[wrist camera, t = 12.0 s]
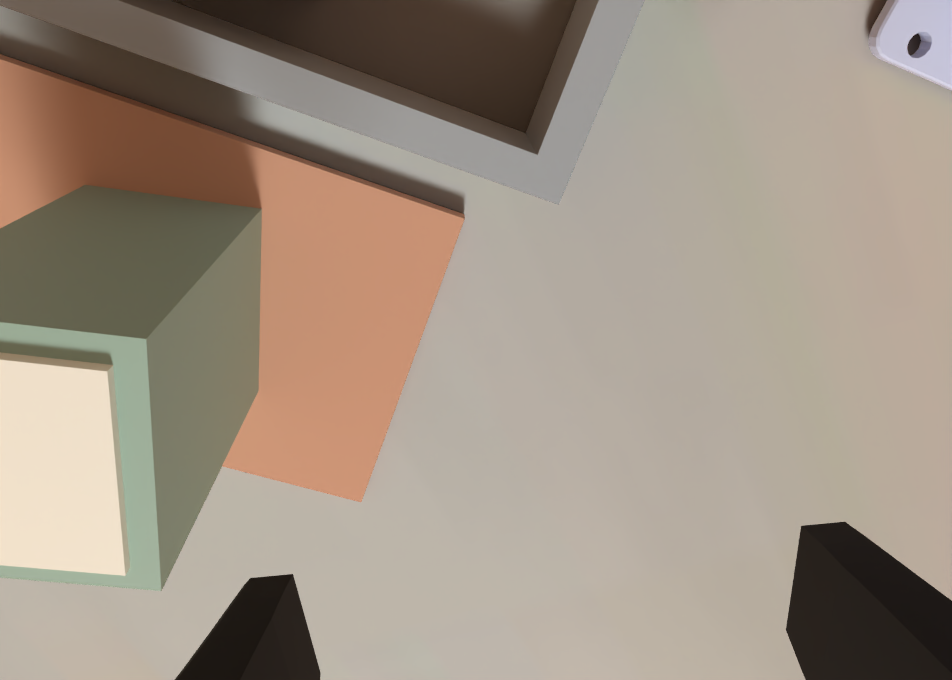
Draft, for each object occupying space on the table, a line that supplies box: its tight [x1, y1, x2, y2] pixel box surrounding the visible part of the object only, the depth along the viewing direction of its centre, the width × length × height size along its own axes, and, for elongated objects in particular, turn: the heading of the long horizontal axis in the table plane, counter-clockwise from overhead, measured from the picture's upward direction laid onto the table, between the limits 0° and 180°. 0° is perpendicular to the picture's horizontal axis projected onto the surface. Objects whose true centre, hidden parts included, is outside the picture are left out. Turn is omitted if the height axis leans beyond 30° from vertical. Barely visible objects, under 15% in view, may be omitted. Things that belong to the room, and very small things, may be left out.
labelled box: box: [0, 185, 262, 591], centre depth 14 cm, size 4×5×7 cm
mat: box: [0, 54, 465, 502], centre depth 18 cm, size 12×9×1 cm
